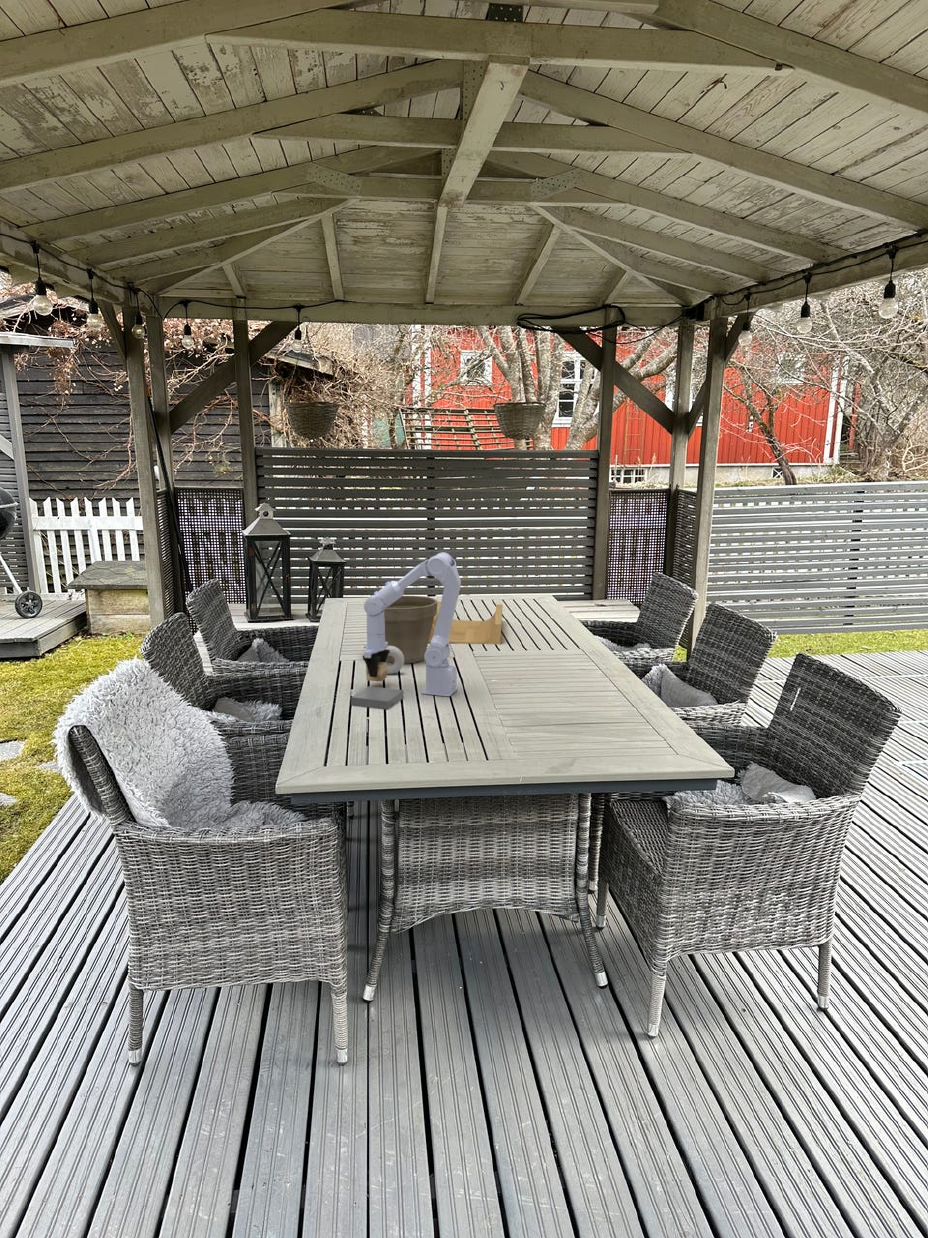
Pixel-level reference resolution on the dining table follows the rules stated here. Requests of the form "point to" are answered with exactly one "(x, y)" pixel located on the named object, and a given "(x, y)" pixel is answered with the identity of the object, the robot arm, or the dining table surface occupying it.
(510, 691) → the dining table surface
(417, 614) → the plant pot
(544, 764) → the dining table surface
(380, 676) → the oak cube
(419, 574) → the robot arm
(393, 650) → the donut
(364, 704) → the slate block
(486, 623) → the skate ramp
